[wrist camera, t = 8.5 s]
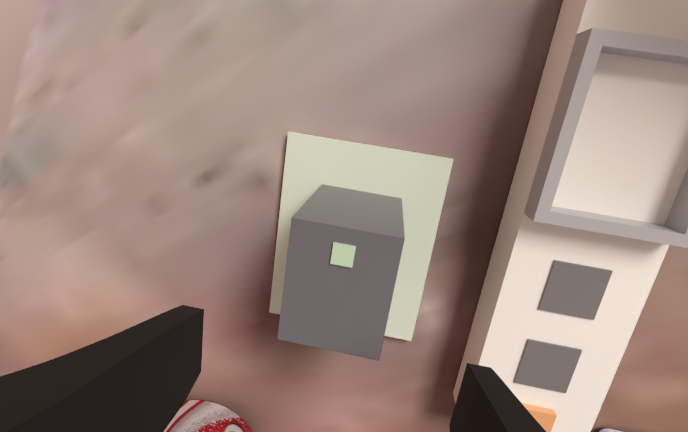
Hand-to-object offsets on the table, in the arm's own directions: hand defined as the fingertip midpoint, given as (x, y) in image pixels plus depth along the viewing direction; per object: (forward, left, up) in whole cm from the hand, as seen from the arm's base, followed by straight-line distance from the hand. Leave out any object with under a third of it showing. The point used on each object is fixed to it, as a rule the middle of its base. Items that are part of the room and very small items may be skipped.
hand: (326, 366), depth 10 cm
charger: (0, 0, -10) cm, 10 cm away
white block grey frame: (+3, -10, -10) cm, 15 cm away
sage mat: (0, 0, -10) cm, 10 cm away
